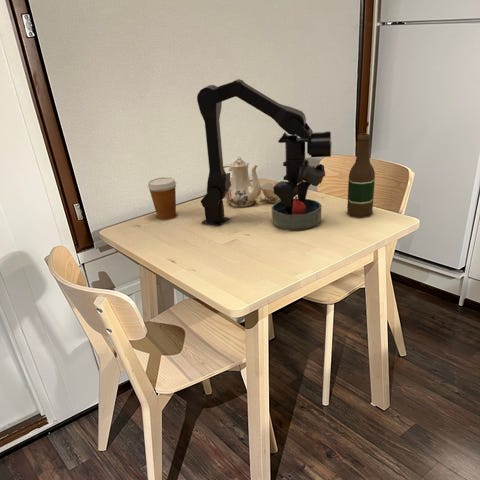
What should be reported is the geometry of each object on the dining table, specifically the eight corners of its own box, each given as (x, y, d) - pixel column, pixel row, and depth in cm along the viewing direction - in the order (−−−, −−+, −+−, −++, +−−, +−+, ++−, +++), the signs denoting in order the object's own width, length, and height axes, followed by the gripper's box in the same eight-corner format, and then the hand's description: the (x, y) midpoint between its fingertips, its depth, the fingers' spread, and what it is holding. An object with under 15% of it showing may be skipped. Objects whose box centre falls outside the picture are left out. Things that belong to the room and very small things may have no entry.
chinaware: (292, 202, 173) (294, 153, 166) (269, 212, 161) (270, 160, 153) (227, 194, 187) (225, 148, 179) (201, 203, 174) (198, 155, 167)
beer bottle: (372, 218, 151) (378, 136, 138) (346, 217, 152) (350, 137, 140) (371, 209, 157) (377, 131, 145) (347, 209, 159) (350, 132, 146)
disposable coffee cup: (178, 220, 162) (173, 184, 155) (150, 222, 162) (144, 186, 156) (182, 210, 170) (177, 176, 163) (155, 212, 170) (149, 177, 164)
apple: (301, 223, 149) (301, 200, 145) (283, 221, 151) (283, 198, 148) (309, 217, 153) (309, 194, 149) (291, 215, 156) (291, 192, 152)
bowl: (309, 233, 144) (309, 217, 141) (263, 227, 151) (263, 211, 148) (328, 216, 155) (328, 201, 152) (284, 211, 161) (284, 196, 159)
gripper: (308, 167, 132) (308, 222, 140) (333, 151, 145) (331, 202, 154) (271, 165, 137) (273, 218, 145) (298, 149, 150) (299, 199, 159)
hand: (296, 209), depth 150 cm, fingers open, 9 cm apart
